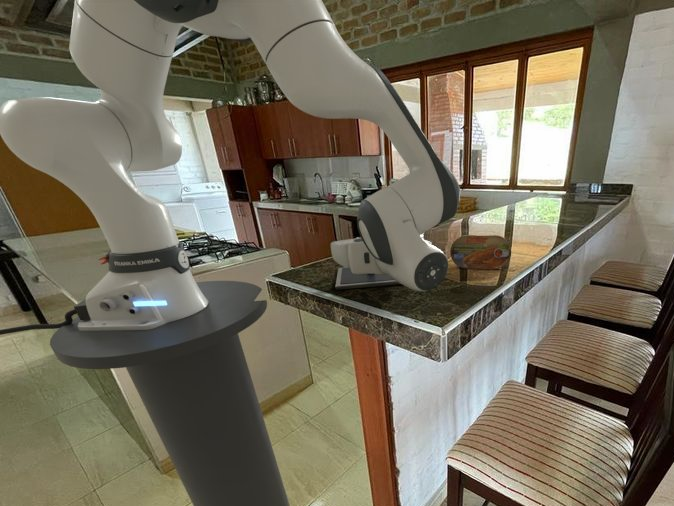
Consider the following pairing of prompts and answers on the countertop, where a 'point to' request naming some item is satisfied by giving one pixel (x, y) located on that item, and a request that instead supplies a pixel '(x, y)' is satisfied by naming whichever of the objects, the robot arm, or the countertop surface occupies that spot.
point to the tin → (480, 251)
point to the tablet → (361, 280)
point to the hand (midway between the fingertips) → (366, 239)
